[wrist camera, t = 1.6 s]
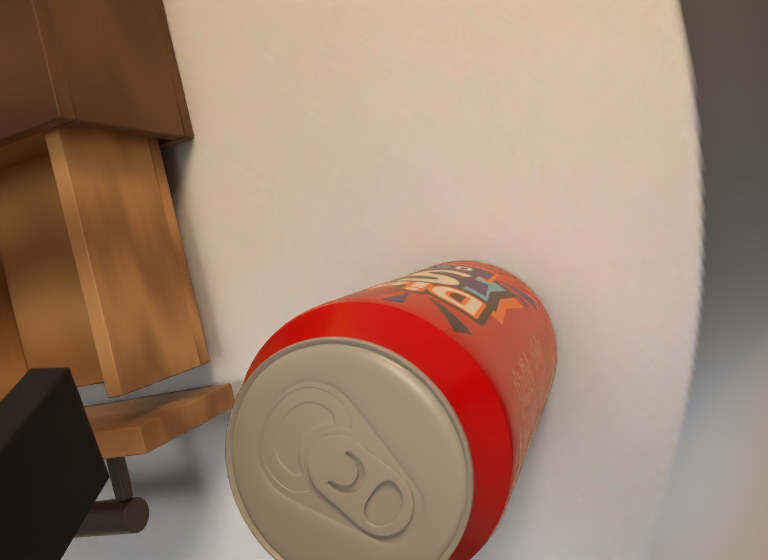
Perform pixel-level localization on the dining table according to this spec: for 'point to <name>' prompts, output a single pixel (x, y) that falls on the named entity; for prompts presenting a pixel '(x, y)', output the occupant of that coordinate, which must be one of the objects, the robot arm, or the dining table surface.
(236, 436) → the soda can
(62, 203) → the drawer
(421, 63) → the dining table surface
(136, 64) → the cabinet
